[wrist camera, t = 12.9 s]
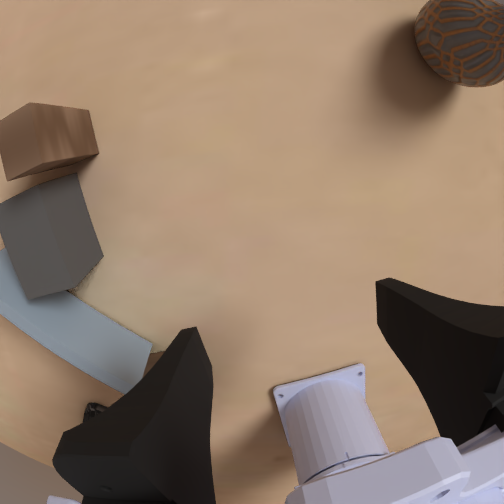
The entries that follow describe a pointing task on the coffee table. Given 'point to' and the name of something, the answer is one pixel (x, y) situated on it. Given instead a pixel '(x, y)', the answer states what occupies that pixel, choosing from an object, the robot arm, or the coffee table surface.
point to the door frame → (48, 146)
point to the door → (75, 332)
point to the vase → (463, 40)
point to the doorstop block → (49, 236)
